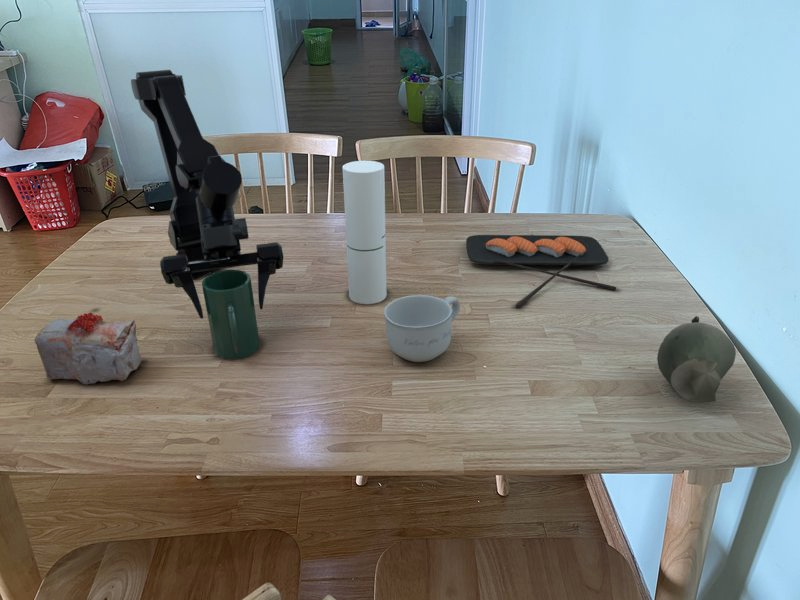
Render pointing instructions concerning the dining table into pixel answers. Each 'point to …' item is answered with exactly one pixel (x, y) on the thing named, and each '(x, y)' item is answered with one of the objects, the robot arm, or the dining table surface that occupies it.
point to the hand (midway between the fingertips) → (231, 313)
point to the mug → (231, 313)
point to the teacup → (420, 326)
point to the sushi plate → (537, 253)
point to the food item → (88, 349)
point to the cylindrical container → (365, 230)
